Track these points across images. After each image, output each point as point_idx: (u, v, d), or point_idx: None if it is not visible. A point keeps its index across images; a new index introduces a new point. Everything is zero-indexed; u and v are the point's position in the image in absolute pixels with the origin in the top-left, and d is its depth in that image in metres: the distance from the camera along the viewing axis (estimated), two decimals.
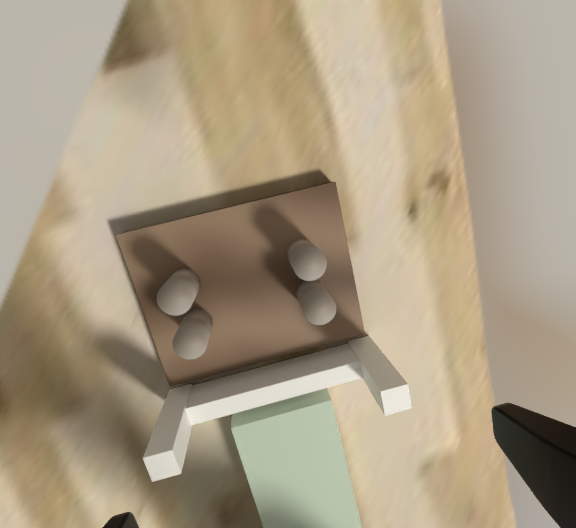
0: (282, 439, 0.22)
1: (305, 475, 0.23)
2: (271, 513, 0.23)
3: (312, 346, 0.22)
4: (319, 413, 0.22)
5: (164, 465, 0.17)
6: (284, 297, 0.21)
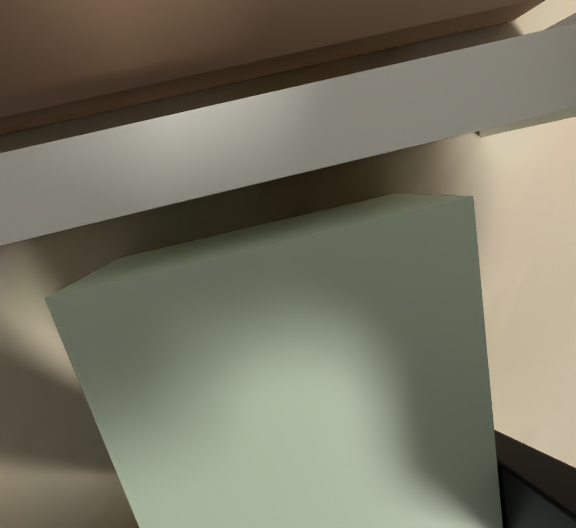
0: (270, 360, 0.05)
1: (353, 501, 0.06)
2: None
3: (372, 28, 0.06)
4: (421, 255, 0.05)
5: None
6: None
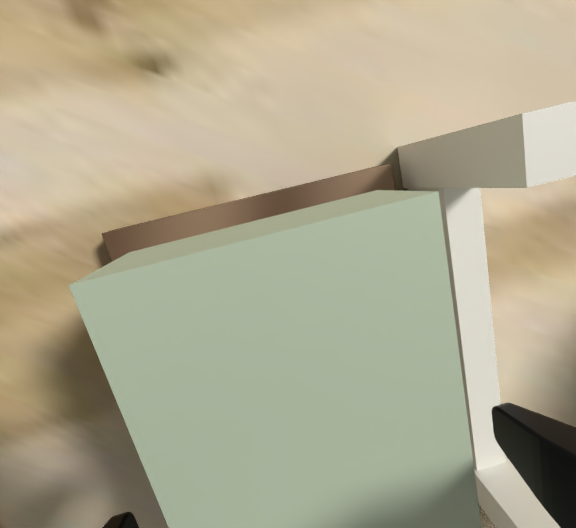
0: (265, 337, 0.06)
1: (340, 464, 0.07)
2: None
3: None
4: (394, 243, 0.06)
5: None
6: None
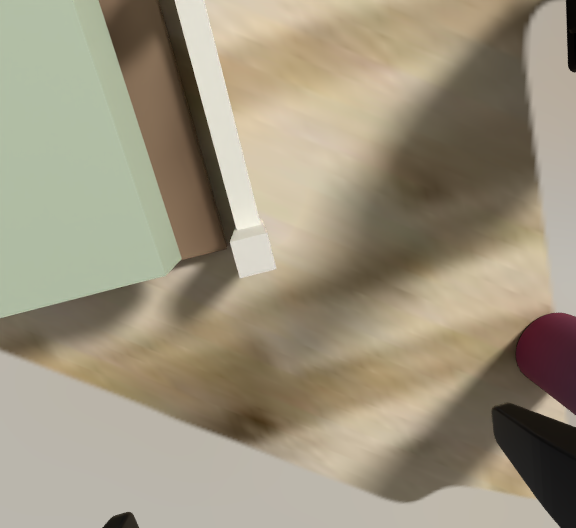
0: None
1: (2, 83, 0.11)
2: None
3: (169, 57, 0.16)
4: None
5: (252, 252, 0.14)
6: None
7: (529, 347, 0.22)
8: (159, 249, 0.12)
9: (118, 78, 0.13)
